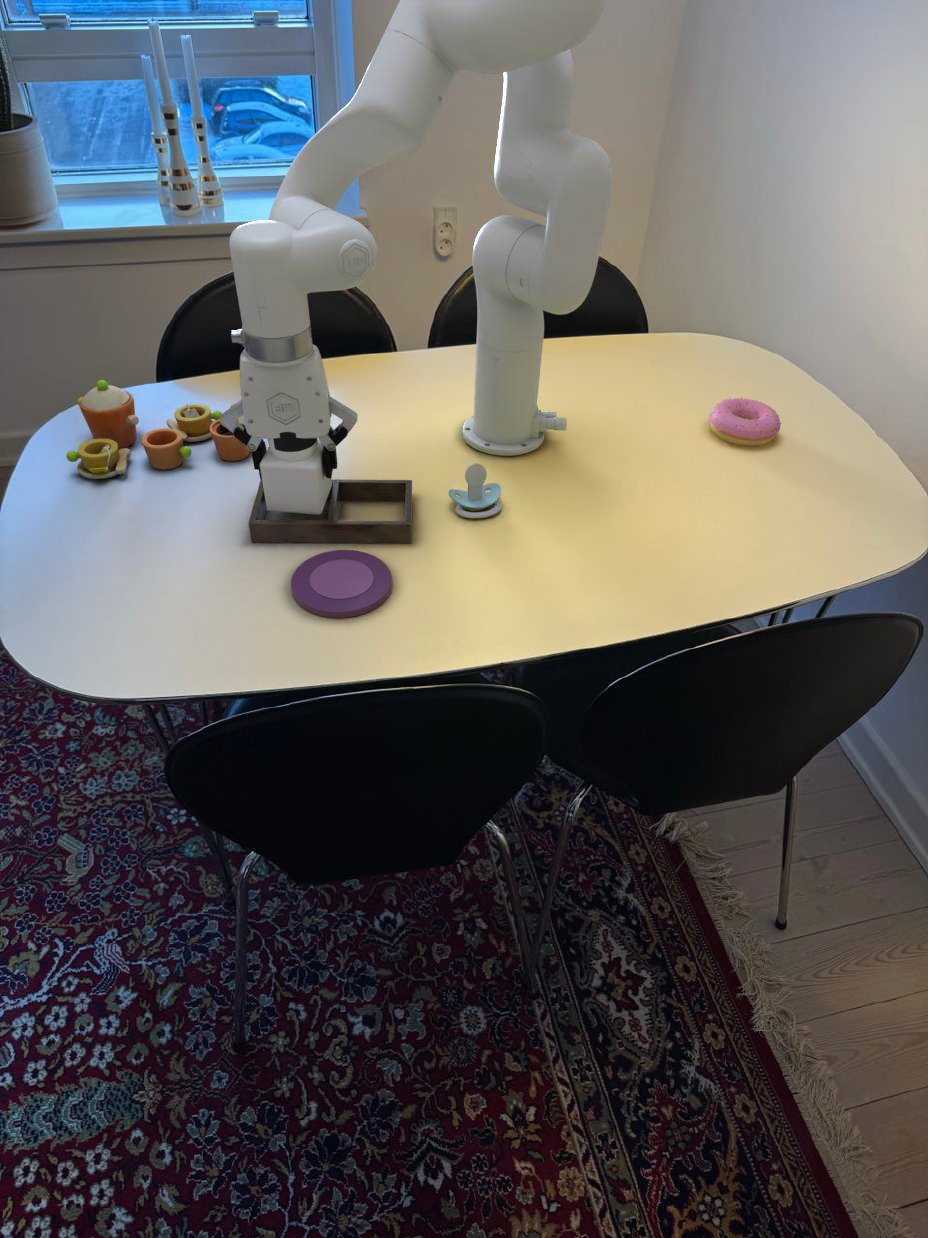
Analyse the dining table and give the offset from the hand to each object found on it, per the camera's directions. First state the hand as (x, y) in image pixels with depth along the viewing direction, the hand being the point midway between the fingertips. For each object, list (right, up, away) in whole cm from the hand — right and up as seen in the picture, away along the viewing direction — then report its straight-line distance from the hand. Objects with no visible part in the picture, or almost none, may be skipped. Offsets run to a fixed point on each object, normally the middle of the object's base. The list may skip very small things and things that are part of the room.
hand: (297, 472), depth 109 cm
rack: (+4, -6, +4) cm, 8 cm away
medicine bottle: (0, -3, +3) cm, 4 cm away
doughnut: (+65, +11, +26) cm, 71 cm away
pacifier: (+23, -4, +8) cm, 25 cm away
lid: (+7, -15, -6) cm, 17 cm away
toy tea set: (-22, +6, +17) cm, 29 cm away
